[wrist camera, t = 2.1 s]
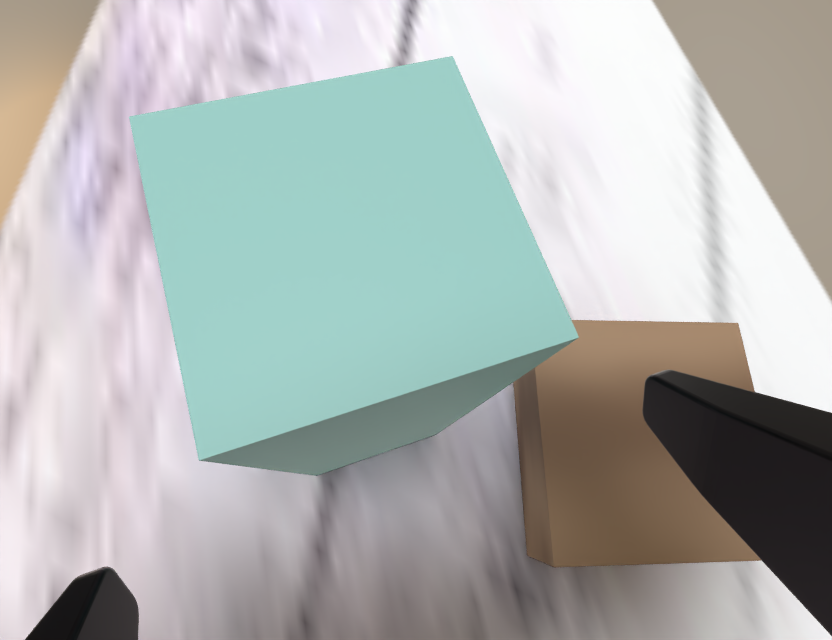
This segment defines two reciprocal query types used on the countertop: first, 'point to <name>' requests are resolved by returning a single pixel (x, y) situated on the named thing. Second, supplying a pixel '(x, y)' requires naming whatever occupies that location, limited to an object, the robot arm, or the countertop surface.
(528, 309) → the teal block
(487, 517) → the countertop surface
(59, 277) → the countertop surface
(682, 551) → the walnut slab
